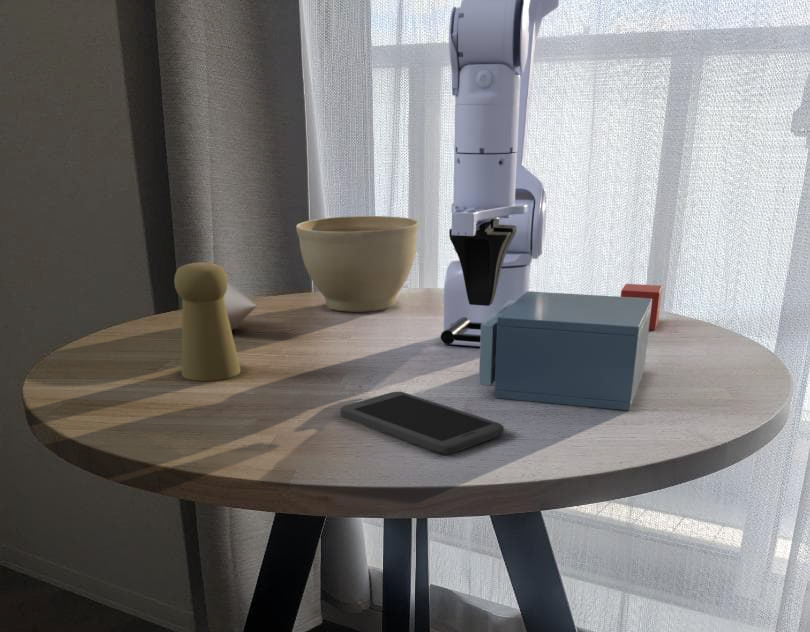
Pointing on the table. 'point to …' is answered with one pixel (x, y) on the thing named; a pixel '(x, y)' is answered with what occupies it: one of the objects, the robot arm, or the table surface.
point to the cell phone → (422, 422)
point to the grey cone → (237, 305)
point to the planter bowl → (359, 259)
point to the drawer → (485, 339)
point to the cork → (205, 323)
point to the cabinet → (572, 349)
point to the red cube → (646, 292)
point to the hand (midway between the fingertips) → (480, 304)
